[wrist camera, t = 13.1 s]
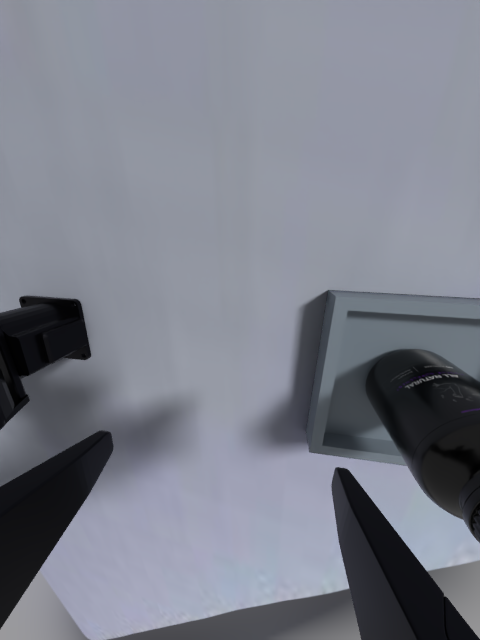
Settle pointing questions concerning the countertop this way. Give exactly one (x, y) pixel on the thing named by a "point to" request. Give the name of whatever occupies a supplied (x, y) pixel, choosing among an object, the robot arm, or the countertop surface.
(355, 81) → the countertop surface
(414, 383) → the supplement bottle
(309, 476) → the countertop surface
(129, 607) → the countertop surface
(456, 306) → the tray
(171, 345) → the countertop surface
